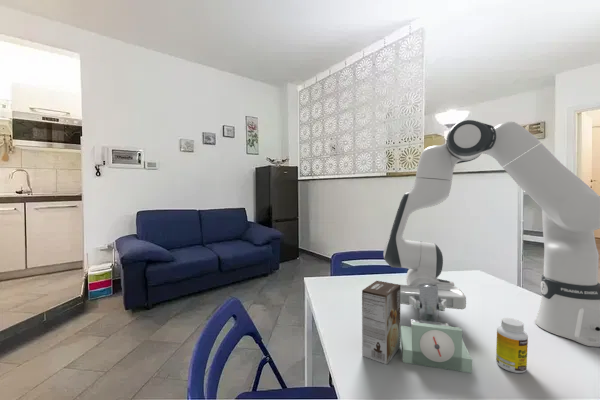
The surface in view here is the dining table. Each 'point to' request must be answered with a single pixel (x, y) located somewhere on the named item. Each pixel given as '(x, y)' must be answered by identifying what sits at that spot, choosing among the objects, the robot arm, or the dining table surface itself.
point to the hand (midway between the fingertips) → (429, 307)
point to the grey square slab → (429, 322)
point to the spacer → (428, 302)
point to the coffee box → (381, 321)
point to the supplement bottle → (512, 346)
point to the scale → (435, 347)
